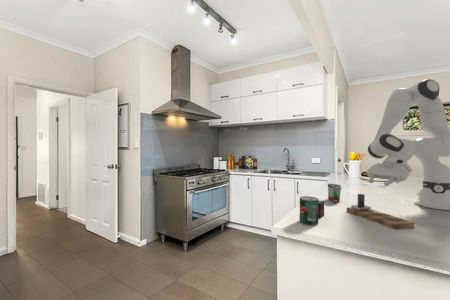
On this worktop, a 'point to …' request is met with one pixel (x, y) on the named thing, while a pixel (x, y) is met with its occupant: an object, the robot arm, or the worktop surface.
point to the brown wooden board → (382, 218)
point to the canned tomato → (309, 210)
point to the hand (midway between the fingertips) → (377, 183)
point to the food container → (334, 193)
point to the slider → (361, 203)
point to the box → (320, 209)
